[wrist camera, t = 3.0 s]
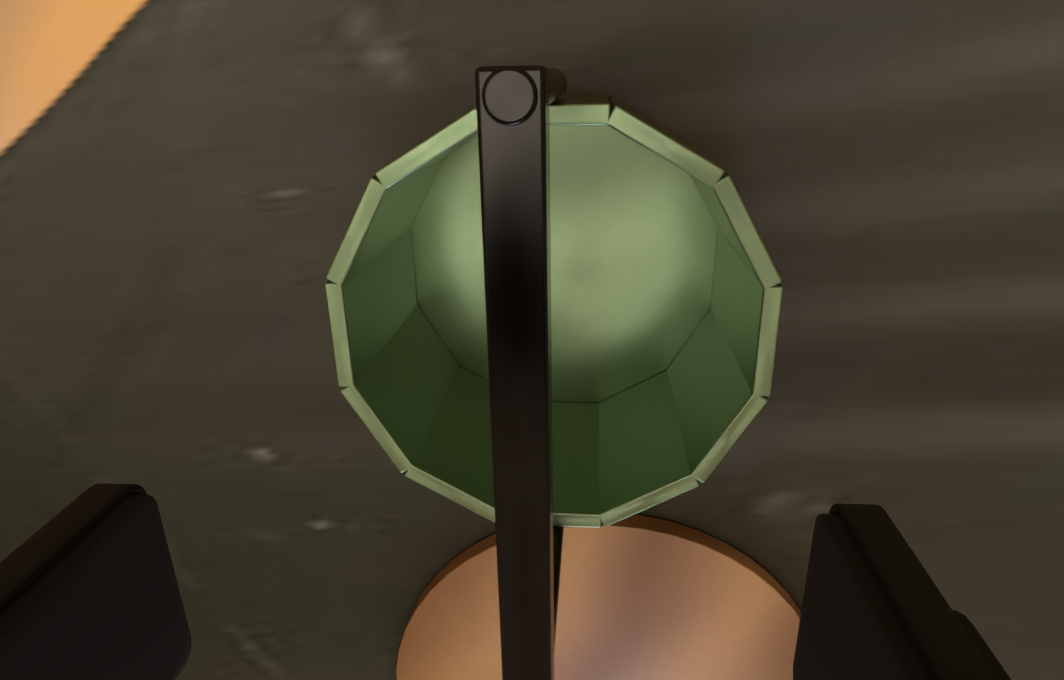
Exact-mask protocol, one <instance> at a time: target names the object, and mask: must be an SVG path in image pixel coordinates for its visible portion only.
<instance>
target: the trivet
mask: <svg viewBox="0 0 1064 680" xmlns="http://www.w3.org/2000/svg"><path fill="white" fill-rule="evenodd" d="M800 617H801V611H800V610H799V608H798V607H797V606H796V604H795V603H794V601H793V600H792V598H791V597H790V595H789V594H788V593H787V592H786V591H785V590H784V588H783V587H782V586H781V585H780V584H779V583H778V582H777V581H776V580H775V579H774V578H773V577H772V576H771V575H770V574H769V573H768V572H767V571H765V570H764V569H763V568H762V567H760V566H759V565H758V564H757V563H755V562H754V561H753V560H752V559H751V558H749V557H748V556H746V555H745V554H743V553H741V552H740V551H738V550H736V549H735V548H733V547H731V546H730V545H728V544H727V543H725V542H723V541H721V540H718V539H716V538H714V537H712V536H710V535H708V534H705V533H703V532H701V531H699V530H696V529H693V528H690V527H687V526H684V525H681V524H677V523H674V522H671V521H667V520H663V519H658V518H653V517H648V516H643V515H636V514H634V515H632V516H630V517H627V518H625V519H623V520H620V521H618V522H616V523H614V524H611V525H609V526H604V524H603V523H602V526H601V527H600V528H594V527H568V526H564V532H563V545H562V558H561V572H560V585H559V598H558V612H557V625H556V638H555V652H554V680H793V661H794V655H795V649H796V642H797V636H798V629H799V623H800ZM396 677H397V680H502V661H501V639H500V617H499V594H498V572H497V550H496V533H495V534H493V535H491V536H489V537H487V538H485V539H484V540H482V541H480V542H478V543H476V544H474V545H472V546H471V547H469V548H468V549H467V550H465V551H464V552H463V553H461V554H460V555H458V556H457V557H456V558H454V559H453V560H451V561H450V562H449V563H448V564H447V565H446V566H445V567H444V568H443V569H442V570H441V571H440V572H439V573H438V574H437V575H436V576H435V577H434V578H433V579H432V581H431V582H430V583H429V585H428V586H427V587H426V589H425V590H424V591H423V593H422V594H421V595H420V597H419V599H418V601H417V603H416V605H415V607H414V609H413V611H412V612H411V614H410V617H409V620H408V623H407V626H406V629H405V632H404V635H403V638H402V641H401V644H400V647H399V653H398V660H397V667H396Z"/></svg>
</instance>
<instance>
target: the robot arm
mask: <svg viewBox="0 0 1064 680" xmlns="http://www.w3.org/2000/svg"><path fill="white" fill-rule="evenodd" d="M190 650H191V635H190V631H189V627H188V623H187V619H186V615H185V611H184V607H183V604H182V600H181V596H180V592H179V588H178V584H177V580H176V576H175V572H174V568H173V564H172V560H171V557H170V553H169V549H168V545H167V541H166V537H165V533H164V529H163V525H162V521H161V517H160V514H159V510H158V506H157V503H156V500H155V499H154V498H153V497H152V496H150V495H147V493H146V491H145V490H144V489H143V488H142V486H139V485H135V484H96V485H94V486H92V487H90V488H89V489H87V490H86V491H85V492H84V493H83V494H81V495H80V496H79V497H78V498H77V499H75V500H74V501H73V502H72V503H71V504H69V505H68V506H67V507H66V508H65V509H64V510H62V511H61V512H60V513H59V514H58V515H56V516H55V517H54V518H53V519H52V520H50V521H49V522H48V523H47V524H46V525H44V526H43V527H42V528H41V529H40V530H38V531H37V532H36V533H35V534H34V535H33V536H31V537H30V538H29V539H28V540H27V541H25V542H24V543H23V544H22V545H21V546H19V547H18V548H17V549H16V550H15V551H13V552H12V553H11V554H10V555H9V556H8V557H6V558H5V559H4V560H3V561H2V562H0V680H175V679H176V678H177V676H178V675H179V673H180V672H181V671H182V669H183V668H184V666H185V664H186V662H187V660H188V657H189V655H190ZM793 680H1011V679H1010V677H1009V676H1008V674H1007V673H1006V672H1005V670H1004V669H1003V667H1002V666H1001V664H1000V663H999V661H998V660H997V659H996V657H995V656H994V654H993V653H992V651H991V650H990V649H989V647H988V646H987V644H986V643H985V641H984V640H983V638H982V637H981V636H980V634H979V633H978V631H977V630H976V628H975V627H974V625H973V624H972V623H971V622H970V621H969V620H968V619H967V618H966V616H965V615H963V614H961V613H960V612H958V611H956V610H952V609H951V608H950V606H949V605H948V603H947V602H946V600H945V599H944V597H943V596H942V594H941V593H940V591H939V590H938V588H937V587H936V585H935V584H934V582H933V581H932V580H931V578H930V577H929V575H928V574H927V572H926V571H925V569H924V568H923V566H922V565H921V563H920V562H919V560H918V559H917V557H916V556H915V554H914V553H913V551H912V550H911V548H910V547H909V545H908V544H907V542H906V541H905V539H904V538H903V537H902V535H901V534H900V532H899V531H898V529H897V528H896V526H895V525H894V523H893V522H892V520H891V519H890V517H889V516H888V514H887V513H886V511H885V510H884V509H883V508H882V507H881V506H879V505H868V504H834V505H832V507H831V509H830V511H829V514H820V515H818V517H817V518H816V522H815V527H814V533H813V540H812V546H811V553H810V559H809V565H808V572H807V578H806V585H805V591H804V597H803V604H802V610H801V617H800V623H799V629H798V636H797V642H796V649H795V655H794V661H793Z"/></svg>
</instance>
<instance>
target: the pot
mask: <svg viewBox="0 0 1064 680" xmlns="http://www.w3.org/2000/svg"><path fill="white" fill-rule="evenodd" d="M475 84H476V107H475V108H473V109H471V110H470V111H468V112H467V113H465V114H464V115H462V116H461V117H459V118H457V119H456V120H454V121H453V122H451V123H450V124H448V125H447V126H445V127H444V128H442V129H441V130H439V131H437V132H436V133H434V134H433V135H431V136H430V137H428V138H427V139H425V140H424V141H422V142H421V143H419V144H417V145H416V146H414V147H413V148H411V149H410V150H408V151H407V152H405V153H404V154H402V155H400V156H399V157H397V158H396V159H394V160H393V161H391V162H390V163H388V164H387V165H385V166H384V167H382V168H380V169H379V170H377V171H376V172H375V176H373V177H371V178H370V179H369V182H368V184H367V186H366V188H365V190H364V193H363V195H362V197H361V199H360V202H359V204H358V206H357V208H356V210H355V213H354V215H353V217H352V219H351V222H350V224H349V226H348V228H347V230H346V233H345V235H344V237H343V239H342V242H341V244H340V246H339V248H338V250H337V253H336V255H335V257H334V259H333V262H332V264H331V266H330V268H329V270H328V273H327V275H326V279H327V280H328V281H327V282H326V283H325V290H326V298H327V305H328V313H329V321H330V328H331V336H332V343H333V351H334V358H335V366H336V374H337V381H338V386H339V387H343V388H342V389H341V393H342V395H343V396H344V397H345V399H346V400H347V401H348V403H349V404H350V405H351V407H352V408H353V409H354V411H355V412H356V413H357V415H358V416H359V418H360V419H361V420H362V422H363V423H364V424H365V426H366V427H367V428H368V430H369V431H370V432H371V434H372V435H373V436H374V438H375V439H376V440H377V442H378V443H379V445H380V446H381V447H382V449H383V450H384V451H385V453H386V454H387V455H388V457H389V458H390V459H391V461H392V462H393V463H394V465H395V466H396V467H397V469H398V470H399V472H401V473H402V472H404V471H406V472H405V477H407V478H409V479H411V480H413V481H415V482H417V483H419V484H420V485H422V486H424V487H426V488H428V489H430V490H432V491H434V492H436V493H438V494H440V495H442V496H444V497H446V498H448V499H450V500H452V501H453V502H455V503H457V504H459V505H461V506H463V507H465V508H467V509H469V510H471V511H473V512H475V513H477V514H479V515H481V516H483V517H485V518H487V519H488V520H490V521H492V522H495V528H496V550H497V572H498V594H499V617H500V639H501V661H502V680H554V652H555V638H556V625H557V612H558V598H559V585H560V572H561V558H562V545H563V532H564V526H568V527H594V528H600V527H601V526H602V523H603V524H604V526H609V525H611V524H614V523H616V522H618V521H620V520H623V519H625V518H627V517H630V516H632V515H634V514H637V513H639V512H641V511H643V510H646V509H648V508H650V507H653V506H655V505H657V504H660V503H662V502H664V501H666V500H669V499H671V498H673V497H676V496H678V495H680V494H683V493H685V492H687V491H689V490H692V489H694V488H696V487H699V486H700V484H699V481H700V482H702V483H704V482H705V481H706V479H707V478H708V477H709V476H710V474H711V473H712V472H713V470H714V469H715V468H716V467H717V465H718V464H719V463H720V462H721V460H722V459H723V458H724V457H725V455H726V454H727V453H728V451H729V450H730V449H731V448H732V446H733V445H734V444H735V443H736V441H737V440H738V439H739V437H740V436H741V435H742V434H743V432H744V431H745V430H746V429H747V427H748V426H749V425H750V423H751V422H752V421H753V420H754V418H755V417H756V416H757V415H758V413H759V412H760V411H761V410H762V408H763V407H764V406H765V404H766V403H767V402H768V399H767V397H766V396H770V395H771V388H772V379H773V371H774V362H775V354H776V346H777V337H778V329H779V320H780V312H781V303H782V295H783V286H782V285H781V284H780V283H781V282H782V279H781V277H780V275H779V273H778V271H777V269H776V267H775V265H774V263H773V261H772V259H771V257H770V255H769V253H768V251H767V249H766V247H765V245H764V243H763V241H762V239H761V237H760V235H759V233H758V231H757V229H756V227H755V225H754V223H753V221H752V219H751V217H750V215H749V213H748V210H747V208H746V206H745V204H744V202H743V200H742V198H741V196H740V194H739V192H738V190H737V188H736V186H735V184H734V182H733V180H732V178H731V176H730V175H728V174H727V173H726V172H725V170H724V169H723V168H722V167H721V166H719V165H718V164H717V163H715V162H714V161H713V160H712V159H710V158H709V157H708V156H707V155H705V154H704V153H703V152H701V151H700V150H699V149H698V148H696V147H695V146H694V145H693V144H691V143H690V142H689V141H687V140H686V139H684V138H682V137H681V136H679V135H677V134H676V133H674V132H672V131H671V130H669V129H667V128H666V127H664V126H662V125H661V124H659V123H657V122H656V121H654V120H652V119H651V118H650V117H648V116H646V115H644V114H642V113H641V112H639V111H637V110H636V109H634V108H632V107H631V106H629V105H627V104H626V103H624V102H622V101H621V100H619V99H617V98H616V97H614V96H612V95H610V96H609V97H607V94H605V93H601V94H564V92H565V91H566V88H567V79H566V77H565V75H564V73H563V72H562V71H560V70H558V69H556V68H548V67H546V66H540V65H536V66H487V67H478V68H476V71H475Z"/></svg>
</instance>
